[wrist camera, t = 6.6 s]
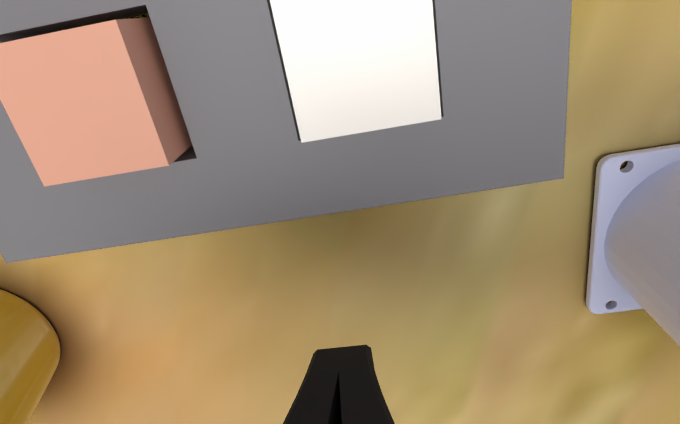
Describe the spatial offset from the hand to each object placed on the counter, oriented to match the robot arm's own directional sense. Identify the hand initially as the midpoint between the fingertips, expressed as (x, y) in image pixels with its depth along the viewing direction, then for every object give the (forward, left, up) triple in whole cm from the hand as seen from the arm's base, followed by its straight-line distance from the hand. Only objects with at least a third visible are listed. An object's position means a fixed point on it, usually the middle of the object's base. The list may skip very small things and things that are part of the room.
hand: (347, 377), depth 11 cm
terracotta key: (+7, -7, -8) cm, 12 cm away
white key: (-1, -7, -8) cm, 11 cm away
